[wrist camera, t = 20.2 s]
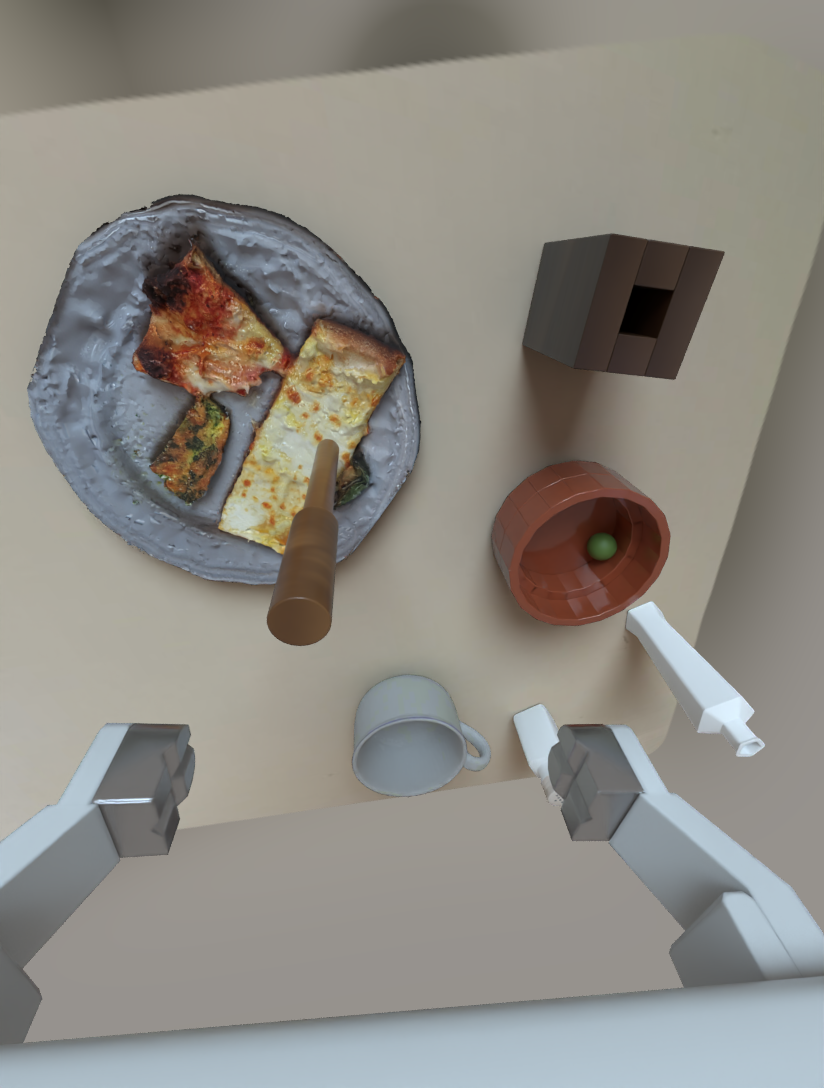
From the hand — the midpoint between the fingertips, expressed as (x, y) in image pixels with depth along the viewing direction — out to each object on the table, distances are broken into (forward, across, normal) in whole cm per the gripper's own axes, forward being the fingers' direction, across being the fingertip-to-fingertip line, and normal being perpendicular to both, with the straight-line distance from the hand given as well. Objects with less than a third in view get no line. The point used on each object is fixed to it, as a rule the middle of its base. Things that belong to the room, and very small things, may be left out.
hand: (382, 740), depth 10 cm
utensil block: (+27, -13, -8) cm, 32 cm away
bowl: (+27, -17, +8) cm, 33 cm away
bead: (+26, -20, +9) cm, 34 cm away
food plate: (+27, +9, +2) cm, 29 cm away
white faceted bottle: (+28, -29, +18) cm, 44 cm away
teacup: (+27, -7, +30) cm, 41 cm away
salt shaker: (+27, -21, +34) cm, 48 cm away
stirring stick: (+24, +3, +2) cm, 24 cm away
